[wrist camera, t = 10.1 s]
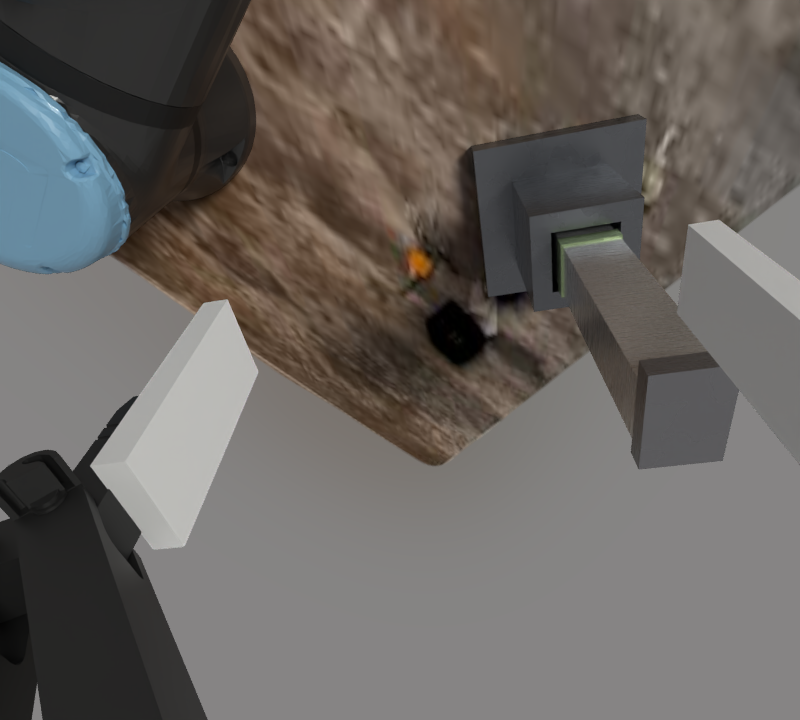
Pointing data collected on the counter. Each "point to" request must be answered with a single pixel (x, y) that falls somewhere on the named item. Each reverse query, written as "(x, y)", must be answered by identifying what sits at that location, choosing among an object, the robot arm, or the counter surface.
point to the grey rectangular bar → (644, 351)
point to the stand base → (555, 199)
